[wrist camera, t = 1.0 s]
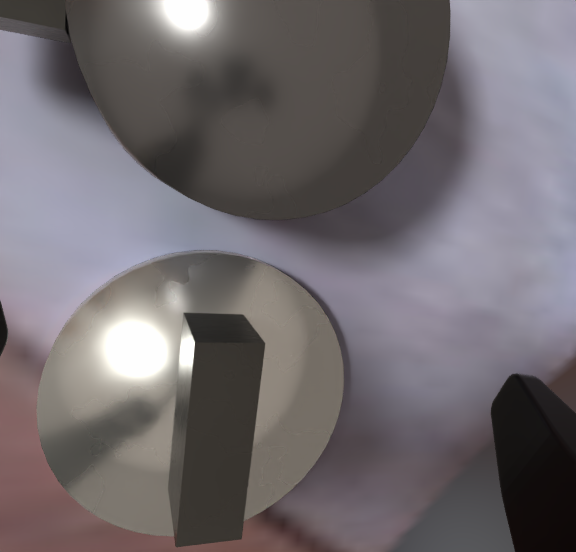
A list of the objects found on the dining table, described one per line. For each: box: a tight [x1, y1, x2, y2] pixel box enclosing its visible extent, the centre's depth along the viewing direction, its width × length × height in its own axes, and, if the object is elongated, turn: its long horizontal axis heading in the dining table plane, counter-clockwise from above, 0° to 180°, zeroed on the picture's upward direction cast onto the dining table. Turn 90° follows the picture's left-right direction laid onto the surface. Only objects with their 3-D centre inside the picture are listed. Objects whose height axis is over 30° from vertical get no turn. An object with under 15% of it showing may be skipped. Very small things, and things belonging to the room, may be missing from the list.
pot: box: [0, 0, 450, 220], centre depth 16 cm, size 11×16×6 cm
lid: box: [37, 250, 344, 547], centre depth 20 cm, size 13×13×5 cm
